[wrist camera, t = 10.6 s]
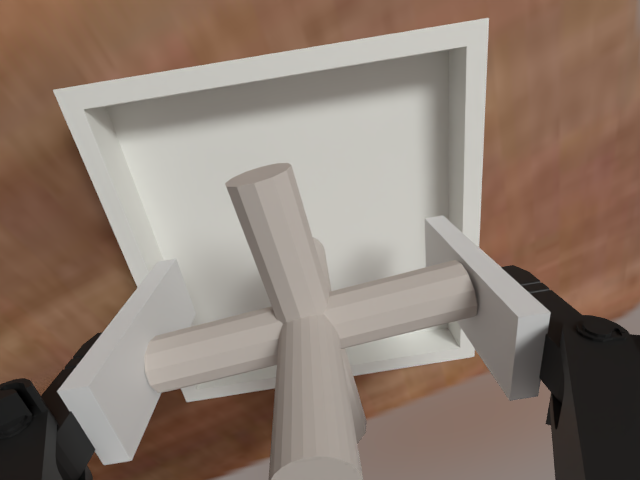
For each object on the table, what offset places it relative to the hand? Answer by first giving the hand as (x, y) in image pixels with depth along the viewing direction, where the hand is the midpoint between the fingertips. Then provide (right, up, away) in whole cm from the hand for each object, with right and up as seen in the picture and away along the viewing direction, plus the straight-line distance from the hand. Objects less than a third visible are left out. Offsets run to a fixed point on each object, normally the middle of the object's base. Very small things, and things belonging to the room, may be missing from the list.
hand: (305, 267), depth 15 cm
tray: (0, +2, +4) cm, 4 cm away
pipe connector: (0, +1, +1) cm, 1 cm away
